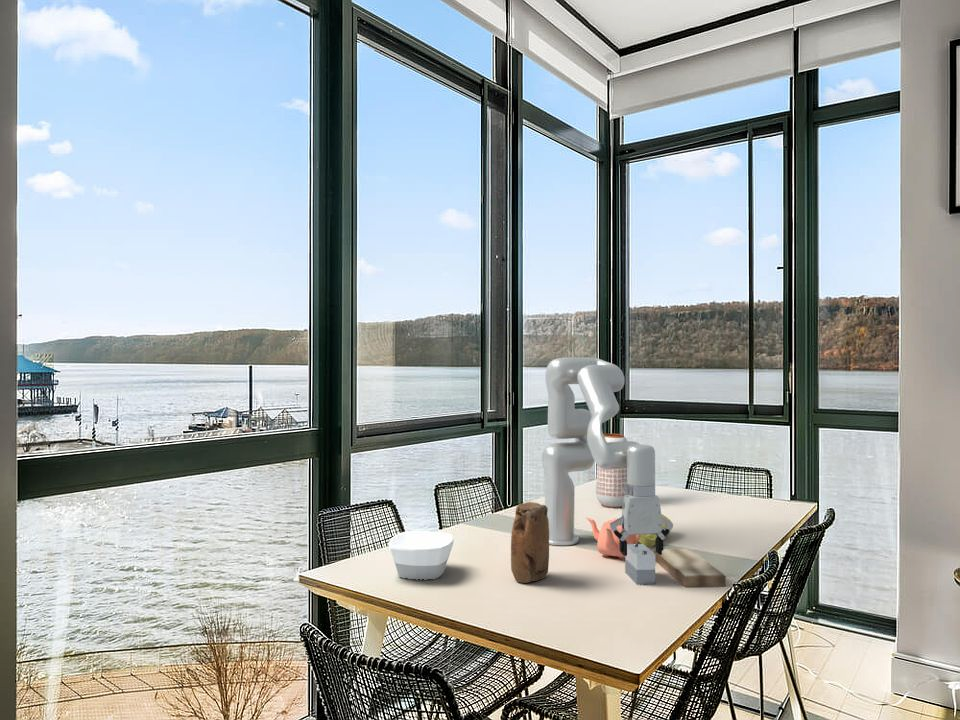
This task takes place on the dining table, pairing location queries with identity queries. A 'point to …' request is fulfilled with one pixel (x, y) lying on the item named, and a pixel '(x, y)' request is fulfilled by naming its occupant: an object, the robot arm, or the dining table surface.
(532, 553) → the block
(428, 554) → the bowl
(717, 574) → the walnut stand
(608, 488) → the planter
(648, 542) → the plastic component
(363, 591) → the dining table surface
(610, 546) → the teapot
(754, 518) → the dining table surface
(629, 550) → the housing
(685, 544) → the dining table surface
